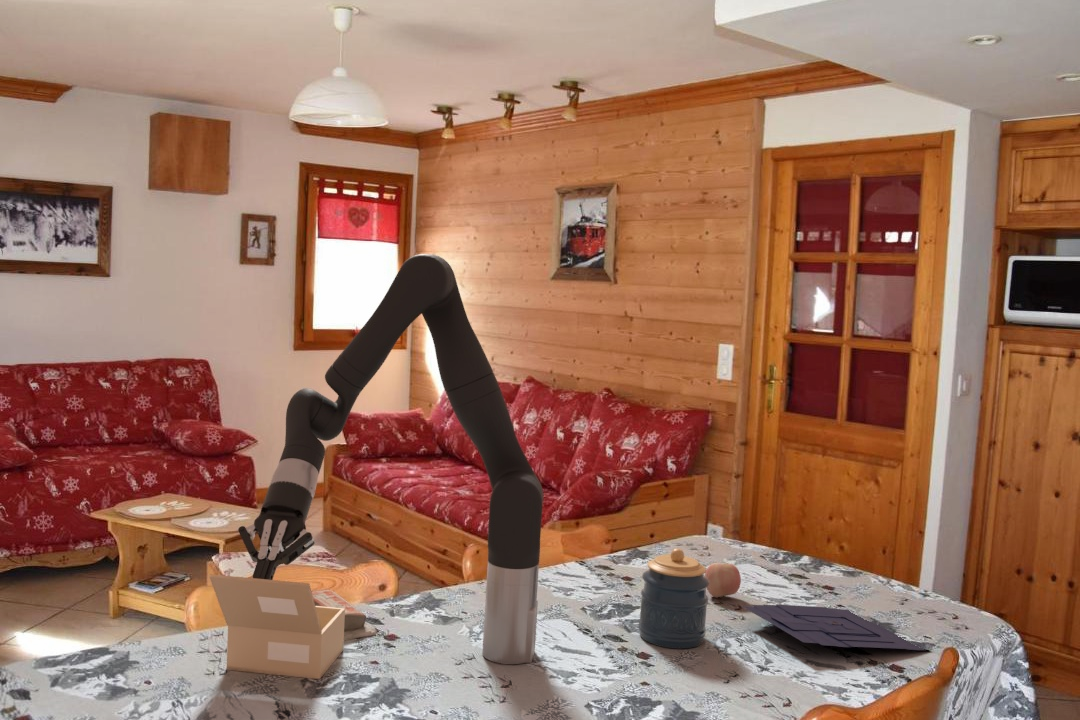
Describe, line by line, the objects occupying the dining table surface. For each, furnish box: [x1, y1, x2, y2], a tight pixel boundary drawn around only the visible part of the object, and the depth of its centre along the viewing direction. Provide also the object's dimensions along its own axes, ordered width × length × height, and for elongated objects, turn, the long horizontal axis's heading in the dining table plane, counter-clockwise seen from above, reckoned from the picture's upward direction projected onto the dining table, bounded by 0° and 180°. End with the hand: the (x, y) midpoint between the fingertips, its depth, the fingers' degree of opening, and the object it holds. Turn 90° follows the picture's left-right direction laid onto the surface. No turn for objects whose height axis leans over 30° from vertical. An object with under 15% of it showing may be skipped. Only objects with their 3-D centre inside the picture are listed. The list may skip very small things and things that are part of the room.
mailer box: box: [225, 606, 345, 680], centre depth 168 cm, size 16×13×8 cm
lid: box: [209, 574, 322, 634], centre depth 157 cm, size 16×13×1 cm
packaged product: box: [311, 588, 377, 641], centre depth 187 cm, size 18×5×10 cm
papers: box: [741, 603, 925, 651], centre depth 197 cm, size 24×30×4 cm
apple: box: [704, 562, 742, 599], centre depth 217 cm, size 8×8×8 cm
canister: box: [638, 548, 709, 649], centre depth 190 cm, size 13×13×18 cm
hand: (260, 584), depth 154 cm, fingers closed
